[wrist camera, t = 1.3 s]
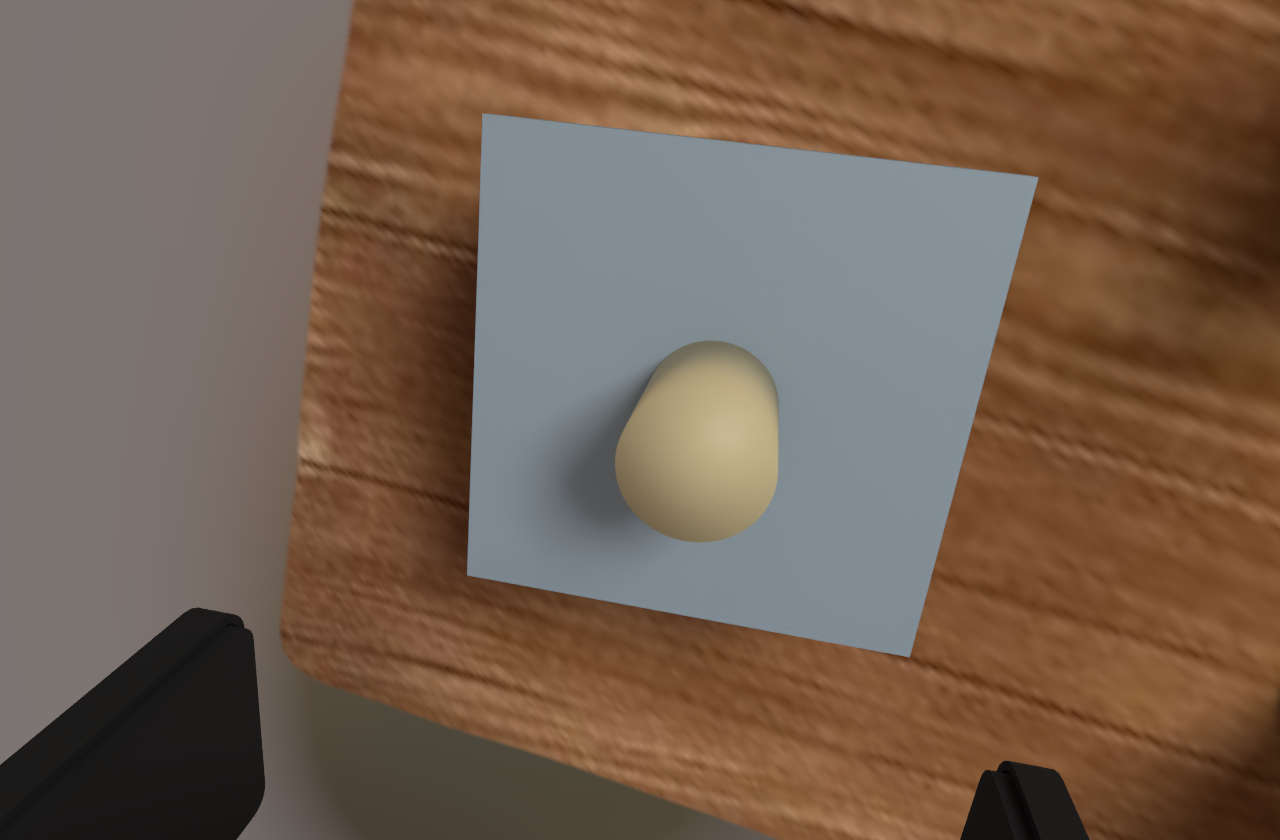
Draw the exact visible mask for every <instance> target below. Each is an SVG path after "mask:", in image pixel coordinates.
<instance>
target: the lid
mask: <svg viewBox="0 0 1280 840" xmlns="http://www.w3.org/2000/svg"><path fill="white" fill-rule="evenodd" d="M1037 181H1038V177H1033V176H1028V175H1020V174H1012V173H1003V172H994V171H985V170H977V169H968V168H959V167H950V166H942V165H933V164H924V163H915V162H907V161H898V160H889V159H881V158H872V157H863V156H854V155H846V154H837V153H828V152H819V151H811V150H802V149H793V148H785V147H776V146H767V145H758V144H750V143H741V142H732V141H723V140H715V139H706V138H697V137H688V136H680V135H671V134H662V133H654V132H645V131H636V130H627V129H619V128H610V127H601V126H592V125H584V124H575V123H566V122H557V121H549V120H540V119H531V118H523V117H514V116H505V115H496V114H483V118H482V147H481V177H480V207H479V236H478V266H477V295H476V325H475V355H474V384H473V414H472V443H471V473H470V502H469V532H468V562H467V575H468V576H473V577H479V578H484V579H490V580H495V581H501V582H506V583H511V584H517V585H522V586H528V587H533V588H538V589H544V590H549V591H555V592H560V593H565V594H571V595H576V596H582V597H587V598H592V599H598V600H603V601H609V602H614V603H620V604H625V605H630V606H636V607H641V608H647V609H652V610H657V611H663V612H668V613H674V614H679V615H684V616H690V617H695V618H701V619H706V620H712V621H717V622H722V623H728V624H733V625H739V626H744V627H749V628H755V629H760V630H766V631H771V632H776V633H782V634H787V635H793V636H798V637H803V638H809V639H814V640H820V641H825V642H831V643H836V644H841V645H847V646H852V647H858V648H863V649H868V650H874V651H879V652H885V653H890V654H895V655H901V656H906V657H910V654H911V650H912V646H913V643H914V639H915V635H916V632H917V628H918V624H919V620H920V617H921V613H922V609H923V606H924V602H925V598H926V594H927V591H928V587H929V583H930V579H931V576H932V572H933V568H934V565H935V561H936V557H937V553H938V550H939V546H940V542H941V538H942V535H943V531H944V527H945V524H946V520H947V516H948V512H949V509H950V505H951V501H952V498H953V494H954V490H955V486H956V483H957V479H958V475H959V471H960V468H961V464H962V460H963V457H964V453H965V449H966V445H967V442H968V438H969V434H970V431H971V427H972V423H973V419H974V416H975V412H976V408H977V404H978V401H979V397H980V393H981V390H982V386H983V382H984V378H985V375H986V371H987V367H988V363H989V360H990V356H991V352H992V349H993V345H994V341H995V337H996V334H997V330H998V326H999V323H1000V319H1001V315H1002V311H1003V308H1004V304H1005V300H1006V296H1007V293H1008V289H1009V285H1010V282H1011V278H1012V274H1013V270H1014V267H1015V263H1016V259H1017V255H1018V252H1019V248H1020V244H1021V241H1022V237H1023V233H1024V229H1025V226H1026V222H1027V218H1028V215H1029V211H1030V207H1031V203H1032V200H1033V196H1034V192H1035V188H1036V185H1037Z"/></svg>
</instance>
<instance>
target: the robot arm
mask: <svg viewBox="0 0 1280 840" xmlns="http://www.w3.org/2000/svg"><path fill="white" fill-rule="evenodd" d="M264 790H265V776H264V764H263V751H262V738H261V726H260V713H259V702H258V688H257V677H256V663H255V651H254V639H253V634H252V632H251V631H250V630H248V629H245V628H244V624H243V621H242V619H241V618H240V617H239V616H237V615H234V614H229V613H223V612H218V611H213V610H207V609H202V608H192V609H190V610H189V611H187V612H185V613H184V614H183V615H181V616H180V617H179V618H178V619H176V620H175V621H174V622H173V623H172V624H170V625H169V626H168V627H167V628H165V629H164V630H163V631H162V632H161V633H159V634H158V635H157V636H156V637H154V638H153V639H152V640H151V641H150V642H148V643H147V644H146V645H145V646H144V647H142V648H141V649H140V650H139V651H138V652H136V653H135V654H134V655H133V656H131V657H130V658H129V659H128V660H127V661H125V662H124V663H123V664H122V665H121V666H119V667H118V668H117V669H116V670H115V671H113V672H112V673H111V674H110V675H109V676H107V677H106V678H105V679H104V680H102V681H101V682H100V683H99V684H98V685H96V686H95V687H94V688H93V689H92V690H90V691H89V692H88V693H87V694H86V695H84V696H83V697H82V698H81V699H79V700H78V701H77V702H76V703H75V704H73V705H72V706H71V707H70V708H69V709H68V710H66V711H65V712H64V713H63V714H61V715H60V716H59V717H58V718H56V719H55V720H54V721H53V722H52V723H50V724H49V725H48V726H47V727H46V728H44V729H43V730H42V731H41V732H40V733H38V734H37V735H36V736H35V737H34V738H32V739H31V740H30V741H29V742H28V743H26V744H25V745H24V746H23V747H21V748H20V749H19V750H18V751H17V752H15V753H14V754H13V755H12V756H11V757H9V758H8V759H7V760H6V761H4V762H3V763H2V764H1V765H0V840H236V839H237V838H238V837H239V835H240V834H241V833H242V831H243V830H244V828H245V827H246V826H247V825H248V823H249V822H250V821H251V819H252V818H253V817H254V815H255V814H256V812H257V810H258V808H259V806H260V804H261V802H262V799H263V795H264ZM960 840H1089V837H1088V835H1087V833H1086V831H1085V828H1084V826H1083V824H1082V822H1081V819H1080V817H1079V815H1078V813H1077V811H1076V808H1075V806H1074V804H1073V802H1072V799H1071V797H1070V795H1069V793H1068V790H1067V788H1066V786H1065V784H1064V781H1063V779H1062V778H1061V776H1060V774H1059V773H1058V772H1056V771H1055V770H1054V769H1048V768H1043V767H1038V766H1032V765H1027V764H1022V763H1016V762H1011V761H1003V762H1002V763H1001V764H1000V765H999V767H998V769H997V771H996V772H995V771H990V770H985V771H984V772H983V774H982V776H981V778H980V781H979V784H978V787H977V790H976V793H975V796H974V799H973V802H972V805H971V808H970V811H969V815H968V818H967V821H966V824H965V827H964V830H963V833H962V836H961V839H960Z"/></svg>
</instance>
